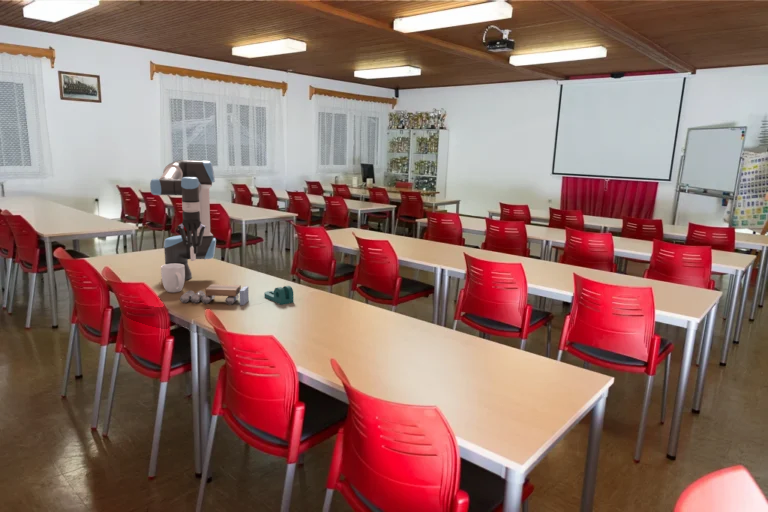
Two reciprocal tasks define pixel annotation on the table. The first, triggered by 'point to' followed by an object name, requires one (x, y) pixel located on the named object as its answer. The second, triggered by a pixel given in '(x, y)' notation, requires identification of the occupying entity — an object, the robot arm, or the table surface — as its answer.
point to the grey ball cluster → (196, 297)
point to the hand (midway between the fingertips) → (193, 260)
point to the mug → (173, 277)
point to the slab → (222, 290)
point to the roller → (231, 299)
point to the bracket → (280, 295)
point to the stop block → (244, 295)
